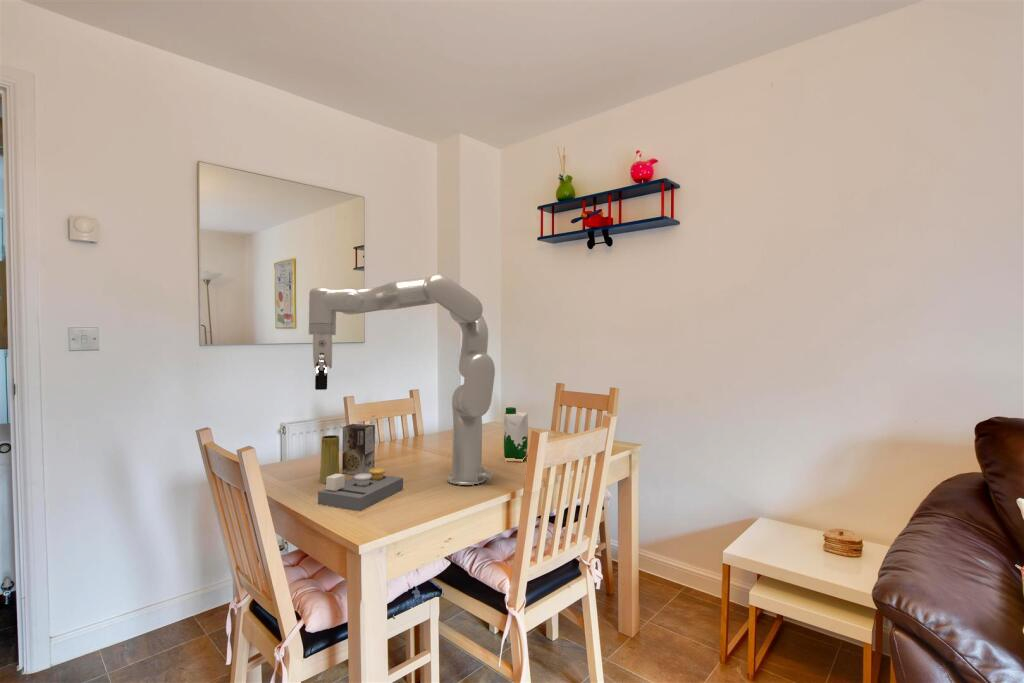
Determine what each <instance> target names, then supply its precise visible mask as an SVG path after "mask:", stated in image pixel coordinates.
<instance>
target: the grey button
mask: <svg viewBox="0 0 1024 683" xmlns="http://www.w3.org/2000/svg"><path fill="white" fill-rule="evenodd" d="M371 476H372V475H371V474H369V473H360V474H356V475H354V476H353V477H354V479H355V480H356V486H359V487H366V486H369V479H371Z"/></svg>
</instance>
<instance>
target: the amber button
mask: <svg viewBox="0 0 1024 683" xmlns="http://www.w3.org/2000/svg"><path fill="white" fill-rule="evenodd" d="M369 473H370V474H371V475H372V476H371V480H376V481H380V480H382V479H383V475H384V474H385V473H386V468H384V467H374V468H371V469H369Z"/></svg>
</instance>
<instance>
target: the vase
mask: <svg viewBox="0 0 1024 683" xmlns="http://www.w3.org/2000/svg"><path fill="white" fill-rule="evenodd" d="M320 448H321V452H320V468H319V470H320V472H319V483H320V482H321V484H325V483H326V477H328V476H331V475H333V474H340V462H339V460H340V458H339V457H340V454H339V452H340V436H339V435H335V434H334V435H333V434H330V435H329V434H328V435H323V436H322V437H321V446H320Z"/></svg>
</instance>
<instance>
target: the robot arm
mask: <svg viewBox="0 0 1024 683" xmlns="http://www.w3.org/2000/svg"><path fill="white" fill-rule="evenodd" d="M308 296H309V298H308V299H309V300H308V306H309V307H308V335H309V336H310V335H311V336H312V359H313V368H314V369H316V372H315V378H314V385H315V386H314V389H315V391H318V390H320V391H326V390H327V389H328V371H327V370H328V369H327V368H328V367H329V369H332V367H333V336H337V334H336V333H337V331H336V329H337V313H341V314H343V315H344V314H345V315H349V316H350V315H351V316H352V315H356V314H357V315H359V314H364V313H371V312H377V311H379V312H380V311H386V310H387V311H390V310H398V309H406V308H410V307H411V308H413V307H419V306H420V307H421V306H428V305H433V304H439V305H440V306H441V307H443V308H444V309H446V310H447V311H449V314H450V317H451V318H452V320H453V321H455V322H456V323H457V324H458V325H459V327H460V330H461V333H462V337H461V349H460V356H459V360H458V361H459V362H458V371H459V374H460V376H462V377H463V383H462V384H461V385H458V387H457V388H455V390H454V392H453V393H452V396H451V408H452V419H453V420H452V422H453V423H452V463H451V464H452V465H451V467H452V468H451V471H452V472H451V474H449V475H448V476H447V478H446V480H448V481H447V482H448V483H449V482H450V483H449V484H451V483H453V484H452V485H454V484H459V485H458V486H460V485H472V486H475V485H474V484H478V485H480V484H479V483H482V482H484V481H485V480H487V479H488V480H492V479H493V471H491V470H490V471H489V470H487V471H486V469H485V466H484V465H482V461H483V460H482V452H483V450H482V449H483V446H482V444H483V418H482V417H483V416H485V415H486V414H487V413H488V411H489V409H490V408H491V406H492V400H493V399H492V398H493V393H494V392H493V391H494V385H495V384H494V383H495V375H496V374H495V373H496V368H495V367H496V366H495V363H494V361H493V359H492V357H491V356H489V355H488V344H489V329H488V325H487V322H486V320H485V318H484V316H483V315H482V314H483V310H484V309H483V308H484V307H483V304H482V302H481V300H480V299H479V298H478V297H477V296H475V295H474V294H473V293H471V292H470V291H468V290H467V289H465V288H464V287H462V286H461V285H459V284H458V283H457V282H455V281H454V280H453V279H451V278H449V277H448V276H446V275H443V274H440V273H439V274H438V273H437V274H434V275H432V276H429V277H420V278H414V279H406V280H398V281H396V280H395V281H392V282H387V283H386V284H383V285H380V286H376V287H370V288H362V289H354V288H352V287H351V288H349V287H347V288H339V289H338V288H334V289H333V288H328V287H327V288H326V287H315V288H311V289H310V290H309V293H308ZM485 482H486V481H485ZM485 482H484V483H485ZM482 484H483V483H482Z"/></svg>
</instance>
